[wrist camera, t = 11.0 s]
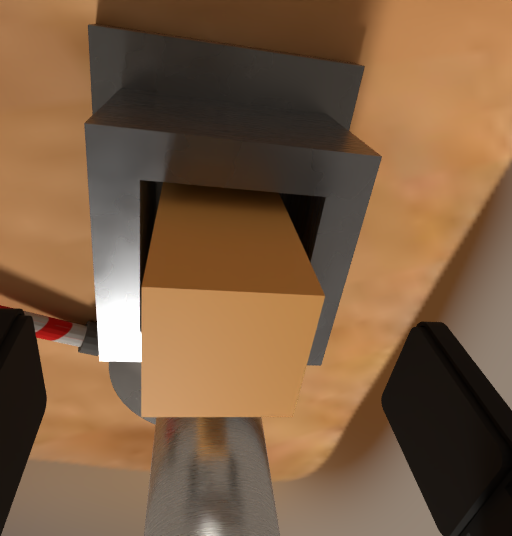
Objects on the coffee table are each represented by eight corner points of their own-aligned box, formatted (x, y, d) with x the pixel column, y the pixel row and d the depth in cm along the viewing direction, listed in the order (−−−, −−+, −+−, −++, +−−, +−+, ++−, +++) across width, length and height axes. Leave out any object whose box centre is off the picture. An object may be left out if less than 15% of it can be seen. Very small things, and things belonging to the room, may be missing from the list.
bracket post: (95, 23, 18) (-196, 53, 5) (354, 63, 20) (663, 161, 7) (110, 363, 28) (30, 684, 15) (283, 366, 30) (352, 651, 17)
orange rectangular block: (170, 147, 20) (141, 286, 10) (262, 157, 21) (325, 295, 11) (167, 232, 22) (141, 417, 12) (250, 238, 23) (292, 416, 13)
